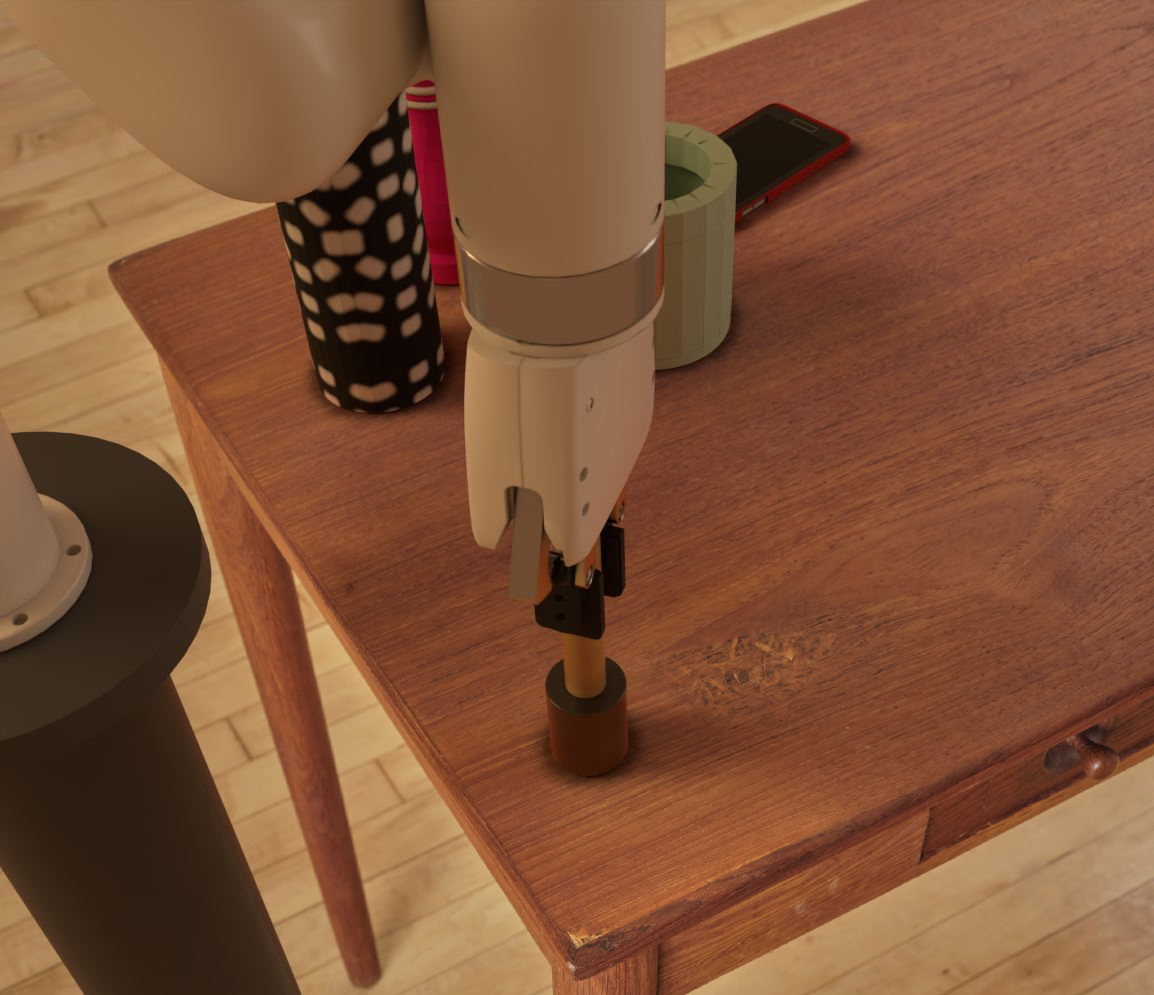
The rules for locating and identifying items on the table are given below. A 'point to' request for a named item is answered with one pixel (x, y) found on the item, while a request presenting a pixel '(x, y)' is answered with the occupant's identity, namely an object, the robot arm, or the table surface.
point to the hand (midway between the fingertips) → (581, 605)
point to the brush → (587, 704)
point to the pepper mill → (432, 180)
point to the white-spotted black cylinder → (368, 275)
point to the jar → (695, 245)
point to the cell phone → (778, 153)
